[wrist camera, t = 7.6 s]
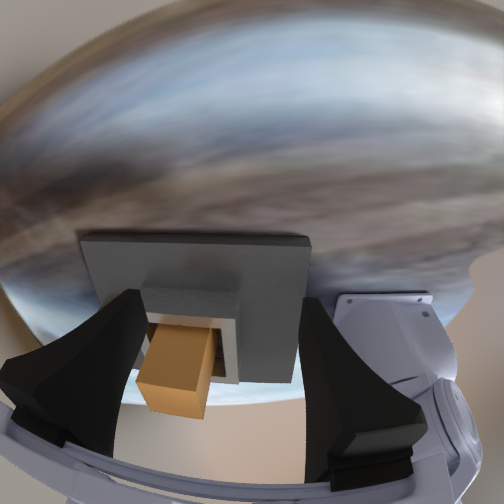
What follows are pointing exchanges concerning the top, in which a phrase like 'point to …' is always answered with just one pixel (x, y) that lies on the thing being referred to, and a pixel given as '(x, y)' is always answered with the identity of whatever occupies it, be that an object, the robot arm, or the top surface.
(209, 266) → the grey socket base
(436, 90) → the top surface
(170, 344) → the wedge pin
